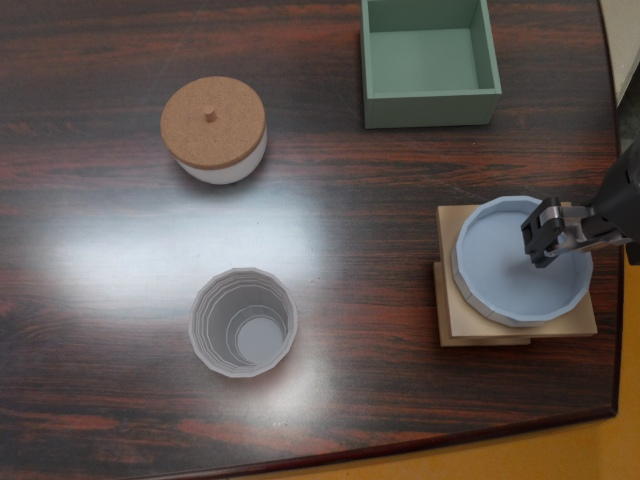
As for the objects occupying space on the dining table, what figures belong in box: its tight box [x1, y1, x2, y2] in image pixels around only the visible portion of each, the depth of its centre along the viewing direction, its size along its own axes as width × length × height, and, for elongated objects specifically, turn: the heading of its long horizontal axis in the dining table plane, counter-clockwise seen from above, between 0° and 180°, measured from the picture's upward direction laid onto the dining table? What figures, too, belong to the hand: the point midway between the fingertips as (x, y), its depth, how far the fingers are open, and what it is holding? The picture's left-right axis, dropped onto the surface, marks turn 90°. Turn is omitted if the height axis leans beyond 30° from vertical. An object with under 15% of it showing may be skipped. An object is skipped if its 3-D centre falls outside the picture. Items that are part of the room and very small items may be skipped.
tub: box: [359, 0, 503, 130], centre depth 72 cm, size 17×17×7 cm
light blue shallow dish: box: [451, 195, 594, 327], centre depth 49 cm, size 12×12×3 cm
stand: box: [432, 201, 598, 348], centre depth 57 cm, size 13×13×14 cm
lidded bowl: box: [159, 75, 268, 185], centre depth 67 cm, size 13×13×11 cm
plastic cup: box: [187, 266, 298, 378], centre depth 57 cm, size 11×11×12 cm
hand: (583, 256), depth 48 cm, fingers open, 8 cm apart
